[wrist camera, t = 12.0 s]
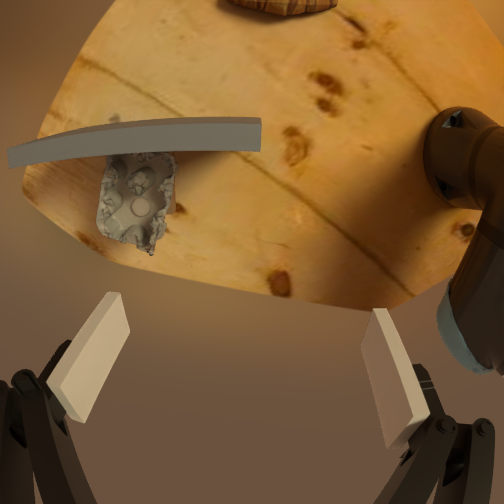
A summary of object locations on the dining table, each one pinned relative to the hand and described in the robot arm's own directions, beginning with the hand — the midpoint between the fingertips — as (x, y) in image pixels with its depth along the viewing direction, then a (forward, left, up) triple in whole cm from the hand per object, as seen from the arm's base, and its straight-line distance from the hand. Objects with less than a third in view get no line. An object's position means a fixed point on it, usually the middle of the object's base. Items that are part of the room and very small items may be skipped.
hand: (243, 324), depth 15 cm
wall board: (+11, -4, -26) cm, 29 cm away
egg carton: (+12, -2, -18) cm, 22 cm away
